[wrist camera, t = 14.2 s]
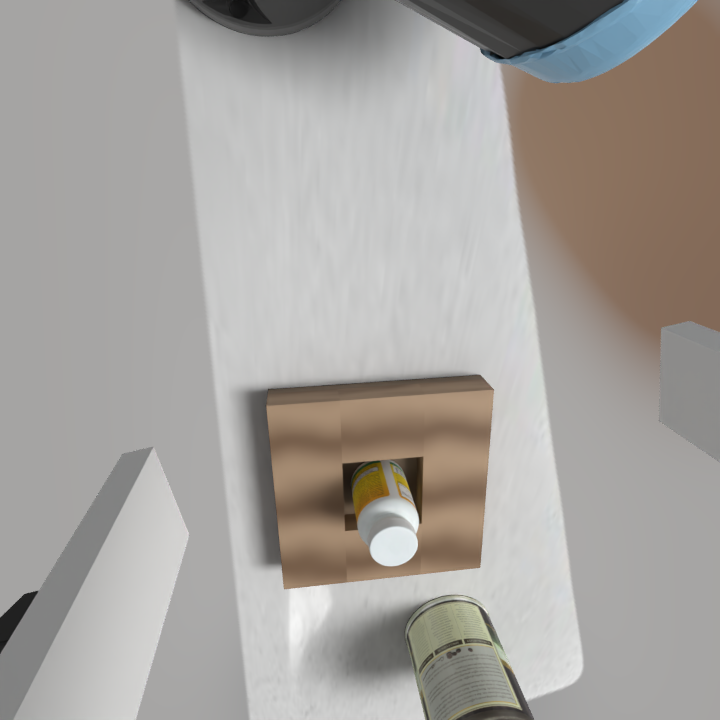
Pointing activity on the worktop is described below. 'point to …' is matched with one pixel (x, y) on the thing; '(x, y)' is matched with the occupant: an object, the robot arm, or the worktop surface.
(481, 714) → the coffee can
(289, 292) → the worktop surface
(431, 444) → the socket block
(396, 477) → the supplement bottle
